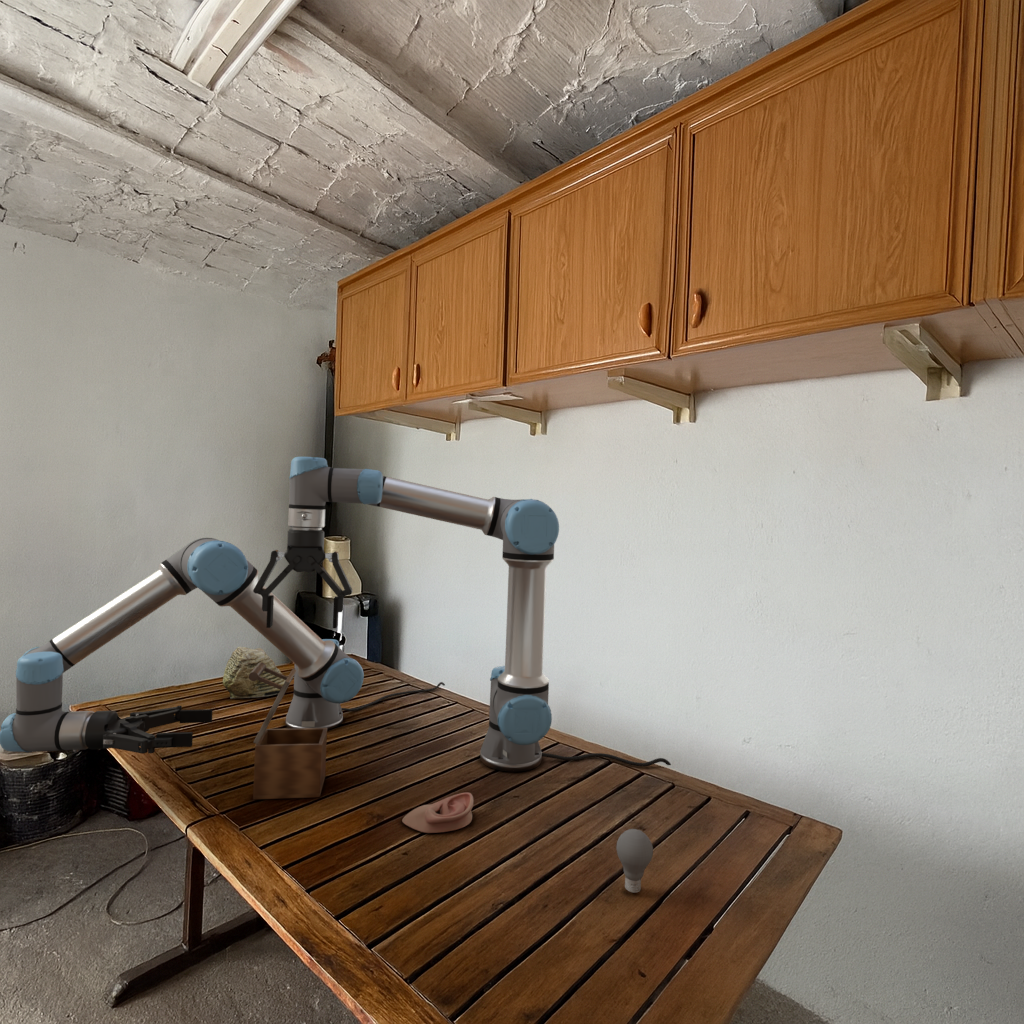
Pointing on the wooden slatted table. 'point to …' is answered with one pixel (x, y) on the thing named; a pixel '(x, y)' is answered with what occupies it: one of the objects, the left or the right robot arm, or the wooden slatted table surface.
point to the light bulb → (634, 857)
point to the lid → (256, 676)
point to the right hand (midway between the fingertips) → (302, 627)
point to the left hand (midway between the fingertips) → (202, 727)
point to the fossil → (240, 669)
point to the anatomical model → (442, 814)
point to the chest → (290, 763)
